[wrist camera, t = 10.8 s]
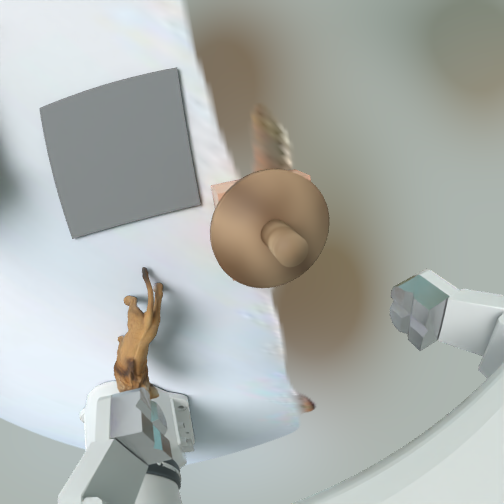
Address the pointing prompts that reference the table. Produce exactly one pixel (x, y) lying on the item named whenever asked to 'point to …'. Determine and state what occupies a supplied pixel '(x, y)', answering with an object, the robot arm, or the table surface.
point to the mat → (120, 152)
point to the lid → (269, 228)
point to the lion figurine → (138, 341)
